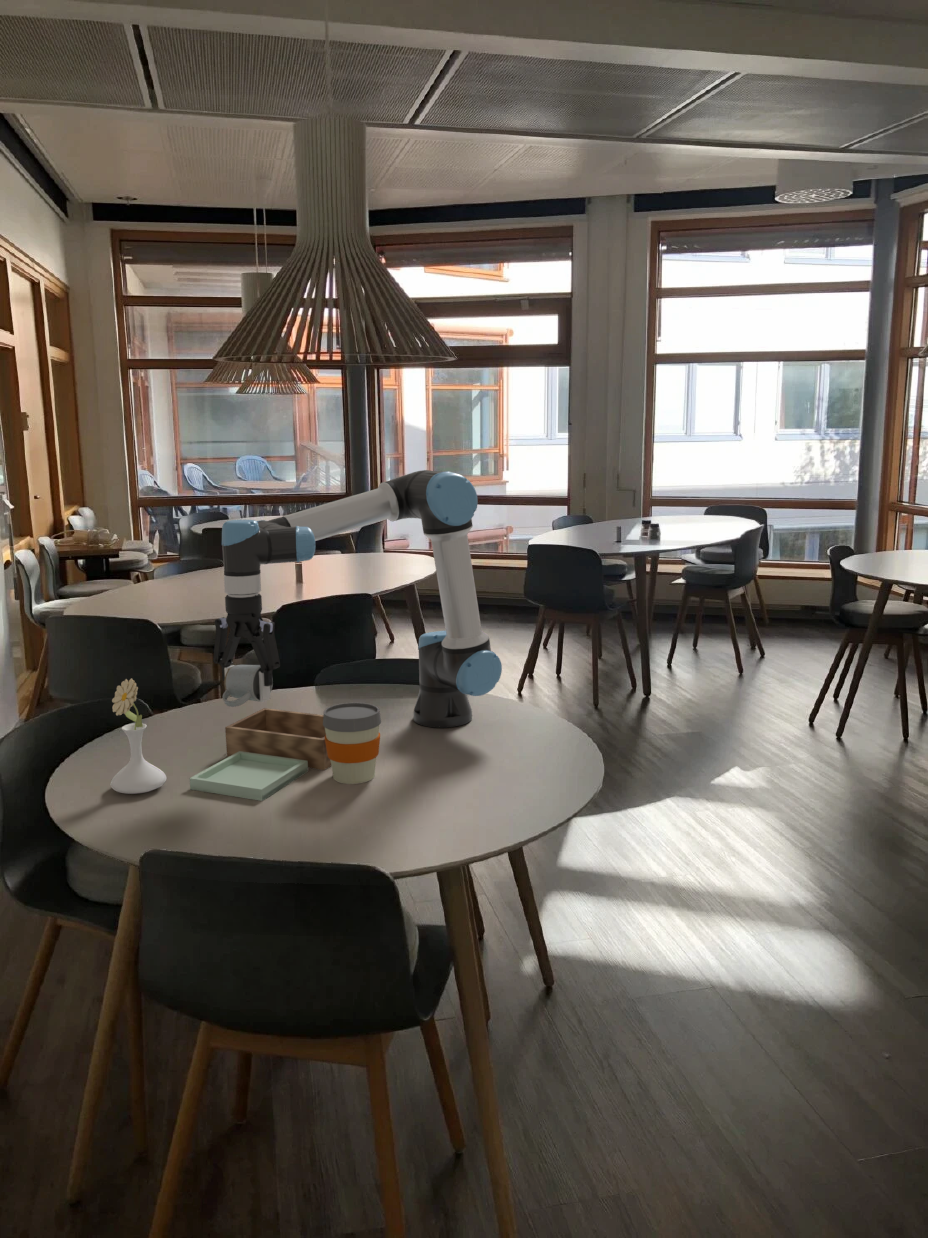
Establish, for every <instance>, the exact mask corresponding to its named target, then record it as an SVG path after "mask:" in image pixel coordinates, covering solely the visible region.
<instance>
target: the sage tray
mask: <svg viewBox="0 0 928 1238" xmlns="http://www.w3.org/2000/svg"><path fill="white" fill-rule="evenodd" d="M308 772H309V768H308V761H306V760H299V759H292V758H284V757H277V756H270V755H263V754H256V753H249V752H242V751H239V752H237V753H235V754H233V755H231V756H227V757H226V758H224V759H222V760H221V761H219V762H217V763H214V764H213V765H212V766H210V767H207V768H206V769H204V770H201V771H200V772H198V773H196V774H195V775H192V776H191V777H190V778H189V788H190V790H191V791H192V790H193V791H199V792H204V793H212V794H217V795H223V796H229V797H236V798H241V799H248V800H254V801H259V802H263V801H265V800H266V799H267V798H270V796H272V795H274V794H275V793H276V792H279V791H280V790H283V788H285V787H286V786H288V785H290V784H291V783H292V782H294V781H295V780H297V779H299V778H301V777H302V776H303V775H305V774H306V773H308Z"/></svg>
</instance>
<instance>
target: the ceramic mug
mask: <svg viewBox="0 0 928 1238" xmlns="http://www.w3.org/2000/svg"><path fill="white" fill-rule="evenodd" d="M260 671H262V668H261V666H260V664H237V665H236V664H235V666H233V667H231V668H230V669H229V670H228V671H227V673H226V676H225V680H224V681H223V682H224V683H223V685H224V690H225V689H226V690H225V691H224V692H223V694H222V700H223V702H224V704H225V705H226V706H227V707H232V708H234V707H235V708H236V707H239V706H241V705H243V704H245V703H247V702H248V701H252V702H260V685H259V672H260ZM272 679H273V677H272ZM273 685H274V683H272V685H270V694H271V693H272V690H273ZM229 695H230V696H231V697H229ZM228 697H229V698H235V700H228ZM260 703H261V702H260Z"/></svg>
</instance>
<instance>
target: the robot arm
mask: <svg viewBox="0 0 928 1238" xmlns="http://www.w3.org/2000/svg"><path fill="white" fill-rule="evenodd" d="M477 508H478V494H477V491H476V489H475V487H474V485H473V484H472V482H471V481H470V480H469V479H467V478H466V477H465V476H463V475H462V474H459V473H455V472H454V471H453V472H452V471H442V470H441V471H440V470H438V471H437V470H427V469H426V470H425V469H424V470H418V471H414V472H410V473H407V474H405V475H401V476H398V477H395V478H393V479H390V480H387V481H383V482H380V484H379V485H378V487H377V488H375V489H372V490H368V491H364V492H362V493H358V494H354V495H350V496H347V497H344V498H341V499H338V500H332V501H330V502H326V503H323V504H320V505H318V506H312V507H310V508H307V509H303V510H300V511H296V512H293V513H290V514H286V515H283V516H280V517H276V518H273V519H269V520H264V519H263V520H262V519H260V520H255V519H231V520H226V521H225V522H223V524H222V527H221V528H222V529H221V546H222V547H221V548H222V560H223V561H222V562H223V586H224V589H223V590H224V593H225V594H226V595H225V597H224V603H225V604H224V605H225V612H226V613H227V614H226V615H227V616H226V617H224V616H222V617H219V618H216V619H215V620H214V626H215V639H214V647H213V648H214V649H213V658H212V661H213V663H214V664H218V665H220V667H221V679H222V681H223V682H224V680H225V676H226V673H227V671H228V670H229V669H230V668H231V667H233V666H236V664H235V665H234V662H233V661H234V657H235V654H236V651H237V648H238V645H239V643H240V640H241V639H242V638H243V639H247V640H248V642H249V643H250V644H251V646H252V649H253V651H254V654H255V656H256V660H257V661H258V663H259V664H258V665H260V666H261V668H262V671H260V672H259V685H260V703H265V702H267V701H269V700H271V693H270V685H272V683H273V682H274V681H273V679H272V678H273V670H276V669H278V668H280V667H281V662H280V656H279V651H278V646H277V640H276V636H275V629H276V623H275V622H274V621H271V622H268V621H264V619H263V618H262V617H263V616H262V610H263V603H262V602H263V600H262V599H263V597H262V595H261V594H260V592H261V591H262V581H261V578H262V577H261V573H262V572H261V565H268V564H286V563H300V562H307V561H310V560H312V559H313V557H314V556H315V553H316V541H320V540H323V539H326V538H330V537H332V536H333V537H334V536H336V535H339V534H343V533H346V532H348V531H352V530H356V529H358V528H362V527H363V528H364V527H366V526H369V525H372V524H374V523H375V524H376V523H378V522H382V521H384V520H388V521H390V522H395V521H396V522H397V521H400V520H405V519H420V520H421V526H422V532H423V535H424V536H426V537H427V538H428V539H430V541H431V546H432V553H433V559H434V565H435V570H436V571H435V572H436V573H435V574H436V578H437V584H438V591H439V597H440V604H441V610H442V616H443V622H444V628H445V630H437V631H429V632H426V633H423V634H421V635H420V636H419V638H418V647H417V650H418V670H419V671H418V674H419V677H418V678H419V680H418V681H419V691H418V695H417V698H416V701H415V704H414V708H413V712H412V713H413V717H412V718H413V721H414V723H415V724H418V725H420V726H423V727H427V728H439V729H440V728H453V727H459V726H463V725H466V724H468V723H470V722H471V721H472V720H473V711H472V710H473V709H472V707H471V703H470V701H469V698H468V695H469V696H472V697H481V696H484V695H486V694H488V693H490V692H492V690H493V689H495V687H496V685H497V683H498V682H499V681H500V679H501V676H502V672H503V670H502V669H503V666H502V665H503V664H502V661H501V659H500V657H499V656H498V655H497V654H496V652H494V651H492V648H491V640H490V635H489V634H488V633H486V632H485V631H483V629H482V626H481V625H482V623H481V617H480V611H479V610H480V609H479V604H478V603H479V602H478V598H477V591H476V590H477V589H476V584H475V578H474V572H473V571H474V569H473V563H472V555H471V550H470V544H469V537H468V534H469V532H470V531H471V530H472V528H473V517H474V515H475V512H476V511H477V510H478V509H477ZM228 627H229V628H230V630H229V633H228ZM260 629H261V630H260ZM273 684H274V683H273ZM224 690H225V691H226V689H225V688H224ZM228 698H232V697H231V696H230V695H229V697H228ZM228 698H227V699H228Z"/></svg>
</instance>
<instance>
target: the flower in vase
mask: <svg viewBox="0 0 928 1238" xmlns="http://www.w3.org/2000/svg"><path fill="white" fill-rule="evenodd" d="M138 689H139V686H137V683H136V682H135V680H134V679H133V678H130V679H129V680H128V679H127V678H125V679H124V680H123V681H121V684H120V685H117V686H116V691H115V692H114V697H113V698H112V699H111V702H112V703H113V705H112V712H113V713H115V715H116V716H121V715H122V714H124V715H125V717H126V718H127V719H129V720H131V721H132V722H135V723H129V724H125V725H123V726H121V730H122V731H123V733H125V735H126V736H127V739H128V742H129V749H130V759H129V761H128V763H127V764H126V765H125V766H123V767H122V768H121V769H120V770H119V771H118V772H117V773H116V774H115V775H114V776H113V777H112V779H111V780H110V781H111V782H110V787H111V789H113V790H114V792H115V791H116V792H117V793H122V794H127V795H128V794H129V795H130V794H131V795H132V794H135V795H136V794H144V793H148V792H152V791H153V790H156V789H159V788H161V787H162V786H163V785H164V784H165V783H166V781H167V779H168V778H167V775H166V773H165V772H164V771H163V770H161V769H160V768H159V767H157V766H155V765H153V764H152V763H150V762H149V761H147V760H146V759H145V758H144V756H143V751H142V743H143V742H142V739H143V735H144V734H143V733H144V731H145V730H146V728H147V724H146V723H143V719H142V718H143V715H142V714H140V715H139V711H138V708H137V706H136V705H135V703H134V702H136V701H137V696H138V691H139V690H138ZM131 707H133V709H135V712H136V714H135V713H133V712H132V711H130V709H131Z"/></svg>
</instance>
